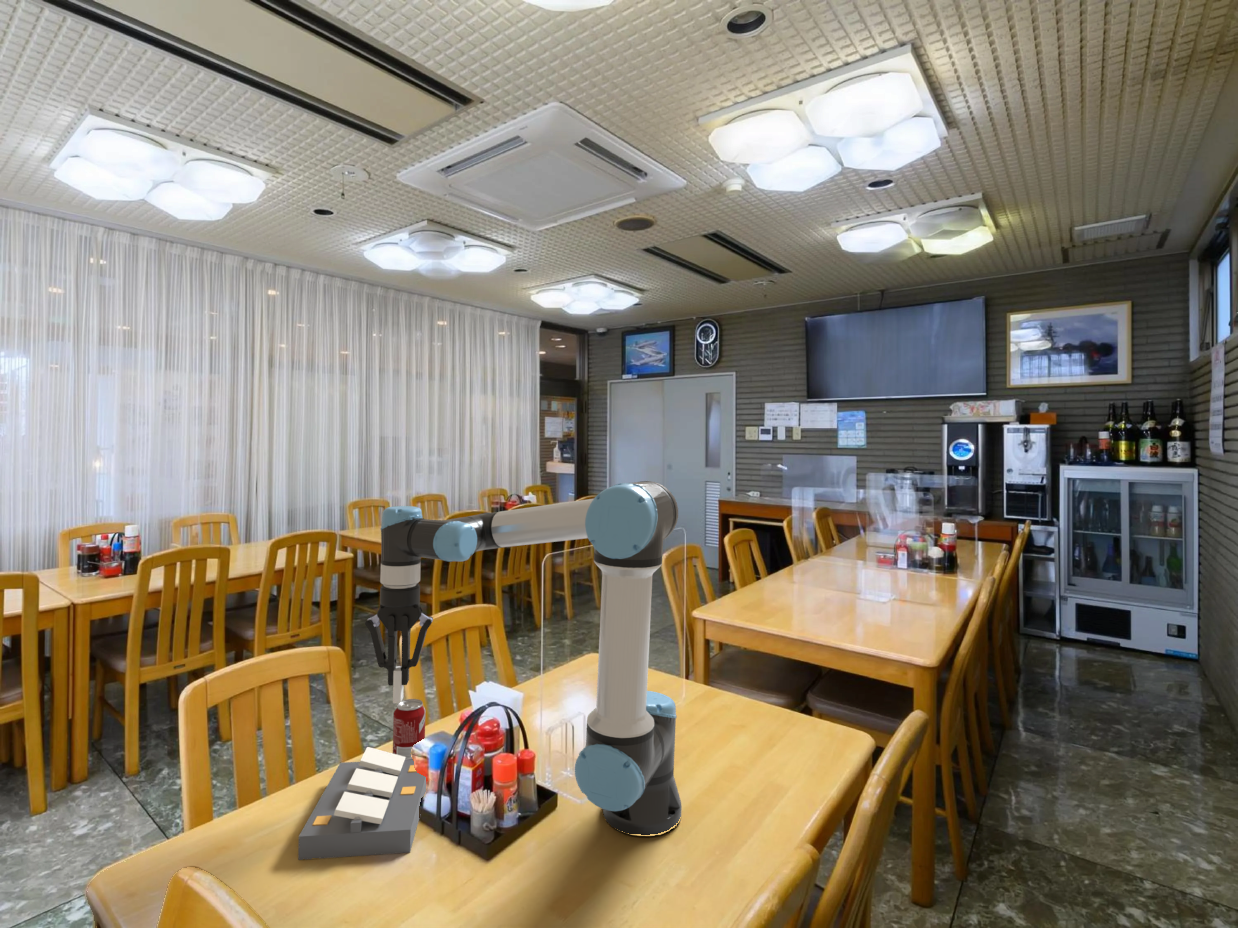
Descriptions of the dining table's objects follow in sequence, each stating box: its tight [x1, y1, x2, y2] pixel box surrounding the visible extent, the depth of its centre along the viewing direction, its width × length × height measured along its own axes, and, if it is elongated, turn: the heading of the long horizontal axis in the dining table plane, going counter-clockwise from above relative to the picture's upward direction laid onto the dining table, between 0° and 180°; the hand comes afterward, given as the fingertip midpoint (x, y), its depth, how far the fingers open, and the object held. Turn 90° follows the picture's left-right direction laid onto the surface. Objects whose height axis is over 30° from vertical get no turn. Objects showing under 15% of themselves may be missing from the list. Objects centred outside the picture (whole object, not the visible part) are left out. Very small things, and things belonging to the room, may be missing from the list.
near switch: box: [334, 792, 389, 824], centre depth 109 cm, size 8×6×2 cm
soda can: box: [392, 698, 427, 760], centre depth 138 cm, size 7×7×12 cm
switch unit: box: [297, 759, 427, 861], centre depth 117 cm, size 18×24×6 cm
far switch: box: [359, 746, 406, 776], centre depth 124 cm, size 8×6×2 cm
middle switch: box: [347, 768, 398, 798], centre depth 117 cm, size 8×6×2 cm
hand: (398, 700), depth 124 cm, fingers closed
